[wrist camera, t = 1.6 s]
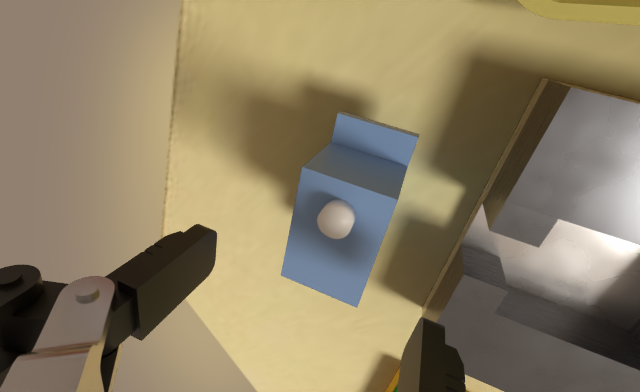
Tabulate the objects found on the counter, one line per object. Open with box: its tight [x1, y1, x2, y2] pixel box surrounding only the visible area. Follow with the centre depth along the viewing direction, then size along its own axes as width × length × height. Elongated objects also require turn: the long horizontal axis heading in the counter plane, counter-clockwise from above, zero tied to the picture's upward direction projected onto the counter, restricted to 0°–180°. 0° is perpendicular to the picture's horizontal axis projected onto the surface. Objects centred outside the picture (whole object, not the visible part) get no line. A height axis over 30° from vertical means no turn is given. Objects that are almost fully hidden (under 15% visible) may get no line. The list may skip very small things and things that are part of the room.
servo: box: [281, 111, 419, 307], centre depth 17 cm, size 4×9×8 cm, turn 168°
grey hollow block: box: [422, 78, 640, 392], centre depth 16 cm, size 16×12×4 cm
